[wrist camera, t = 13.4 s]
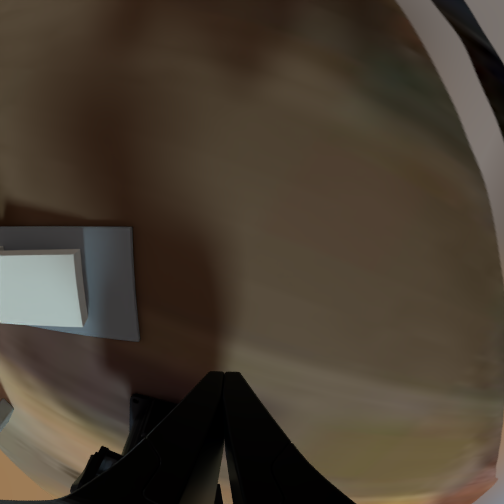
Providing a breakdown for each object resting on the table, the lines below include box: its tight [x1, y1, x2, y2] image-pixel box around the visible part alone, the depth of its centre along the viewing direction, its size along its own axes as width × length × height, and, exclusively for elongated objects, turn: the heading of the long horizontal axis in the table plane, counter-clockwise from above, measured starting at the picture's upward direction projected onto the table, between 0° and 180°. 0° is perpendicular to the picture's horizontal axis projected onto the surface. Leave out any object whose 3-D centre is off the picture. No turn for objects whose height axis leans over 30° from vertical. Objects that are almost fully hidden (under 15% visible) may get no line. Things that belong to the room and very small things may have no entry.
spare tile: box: [0, 249, 88, 327], centre depth 17 cm, size 2×5×8 cm
